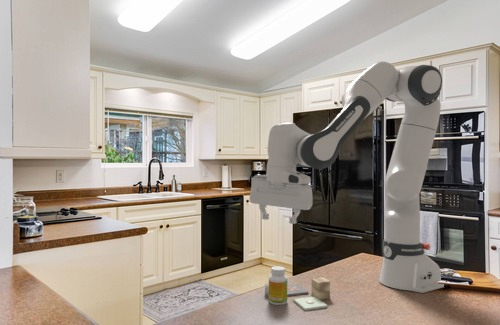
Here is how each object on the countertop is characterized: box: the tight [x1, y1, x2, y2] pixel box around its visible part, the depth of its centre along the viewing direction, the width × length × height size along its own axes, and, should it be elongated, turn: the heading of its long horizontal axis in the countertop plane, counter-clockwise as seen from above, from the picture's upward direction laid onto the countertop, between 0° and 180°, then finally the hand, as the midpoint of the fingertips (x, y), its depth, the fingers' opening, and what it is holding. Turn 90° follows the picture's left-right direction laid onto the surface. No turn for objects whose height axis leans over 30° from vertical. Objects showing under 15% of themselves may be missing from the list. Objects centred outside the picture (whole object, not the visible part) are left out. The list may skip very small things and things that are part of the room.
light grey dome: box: [264, 281, 269, 298], centre depth 108 cm, size 5×5×3 cm
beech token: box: [311, 276, 331, 300], centre depth 107 cm, size 4×4×5 cm
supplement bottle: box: [268, 265, 288, 306], centre depth 102 cm, size 5×5×10 cm
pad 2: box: [293, 296, 328, 311], centre depth 101 cm, size 7×7×1 cm
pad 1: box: [287, 284, 309, 297], centre depth 111 cm, size 7×7×1 cm
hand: (278, 221), depth 108 cm, fingers open, 8 cm apart
